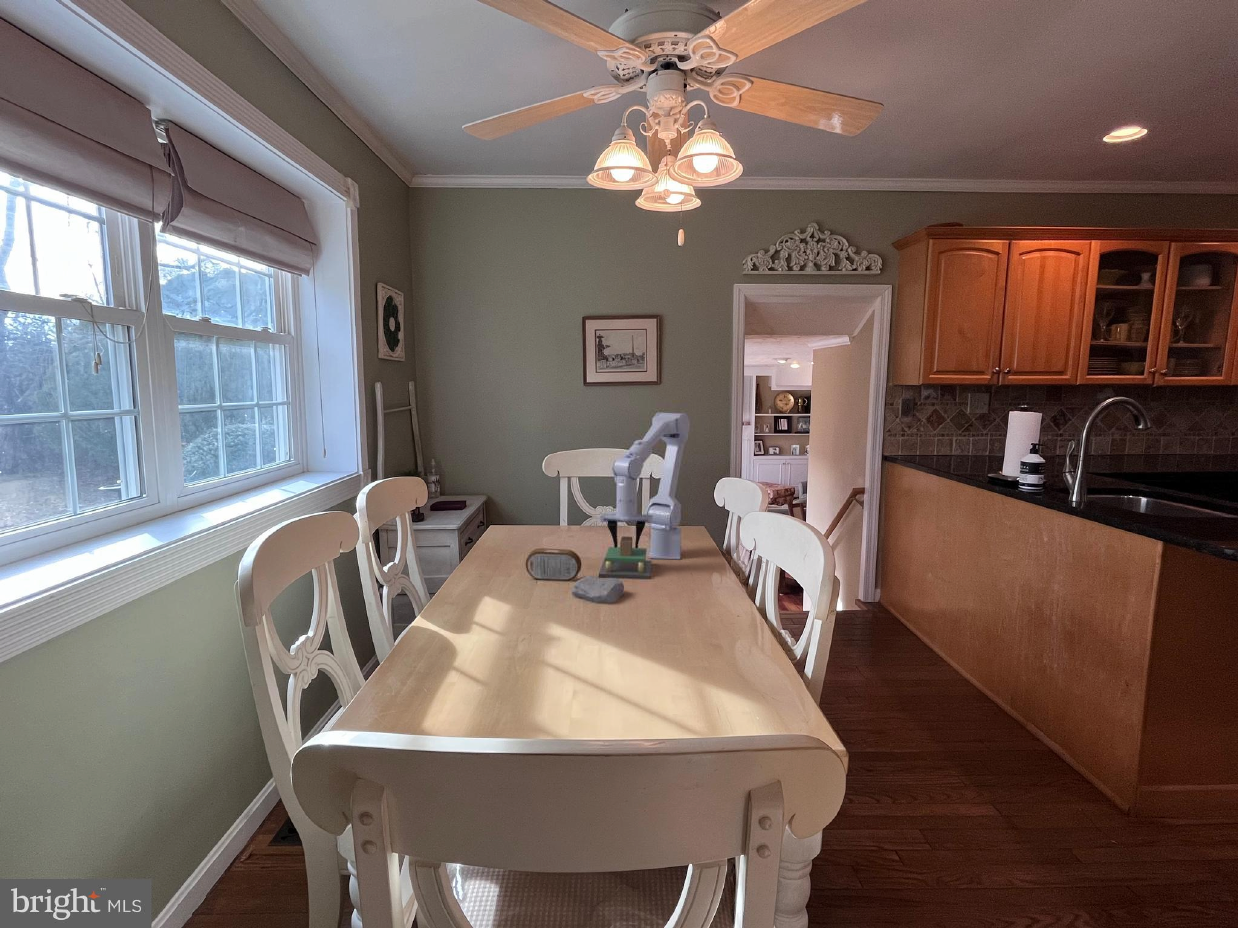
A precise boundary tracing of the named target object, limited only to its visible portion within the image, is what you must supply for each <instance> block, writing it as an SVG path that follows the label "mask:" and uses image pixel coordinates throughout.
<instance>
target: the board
mask: <svg viewBox="0 0 1238 928" xmlns="http://www.w3.org/2000/svg"><path fill="white" fill-rule="evenodd" d="M619 544H620V545H619V546H620V547H619V546H617V548H614V546H610V547H609V546H608V549H607V552H606V554H605V557H604V559H605V561H609V562H640V563H645V558H646V557H647V547H638V548H635V547H633V536H628V535H627V536H621V539H620V542H619Z"/></svg>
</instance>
